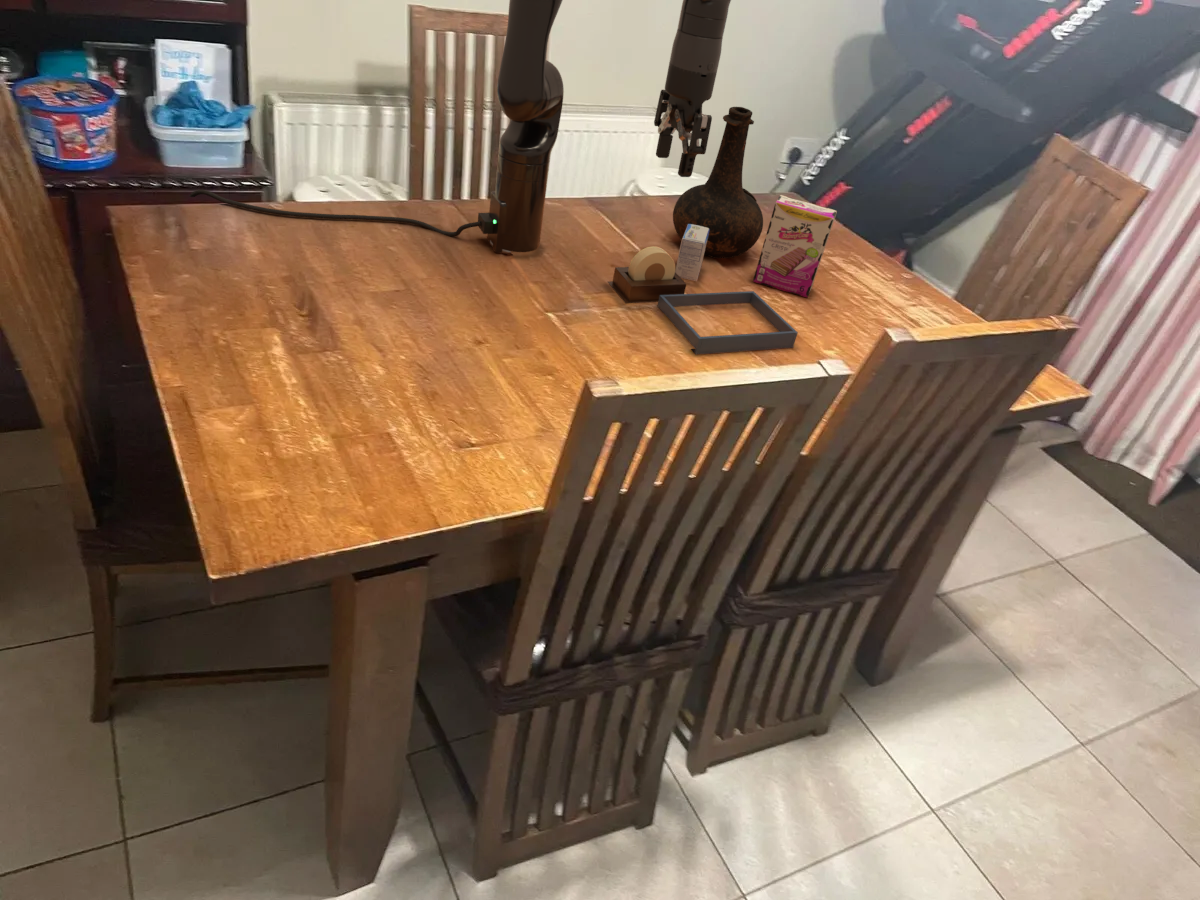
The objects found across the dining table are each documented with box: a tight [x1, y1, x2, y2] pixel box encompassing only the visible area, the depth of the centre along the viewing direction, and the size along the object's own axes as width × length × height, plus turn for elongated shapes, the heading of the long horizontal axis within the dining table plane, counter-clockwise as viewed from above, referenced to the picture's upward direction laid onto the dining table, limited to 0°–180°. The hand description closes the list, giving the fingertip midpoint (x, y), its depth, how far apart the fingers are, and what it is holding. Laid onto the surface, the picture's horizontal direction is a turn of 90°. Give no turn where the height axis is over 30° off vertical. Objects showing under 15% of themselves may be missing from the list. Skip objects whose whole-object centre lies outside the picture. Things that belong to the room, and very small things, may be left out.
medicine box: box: [675, 224, 710, 282], centre depth 173 cm, size 8×4×9 cm, turn 168°
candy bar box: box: [752, 194, 838, 298], centre depth 173 cm, size 11×5×16 cm, turn 71°
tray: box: [657, 290, 799, 356], centre depth 158 cm, size 19×15×3 cm
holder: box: [607, 266, 687, 304], centre depth 164 cm, size 8×12×4 cm
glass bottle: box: [672, 106, 764, 259], centre depth 179 cm, size 18×18×28 cm
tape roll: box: [628, 245, 676, 281], centre depth 162 cm, size 2×8×8 cm, turn 113°
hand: (672, 166), depth 151 cm, fingers open, 8 cm apart
